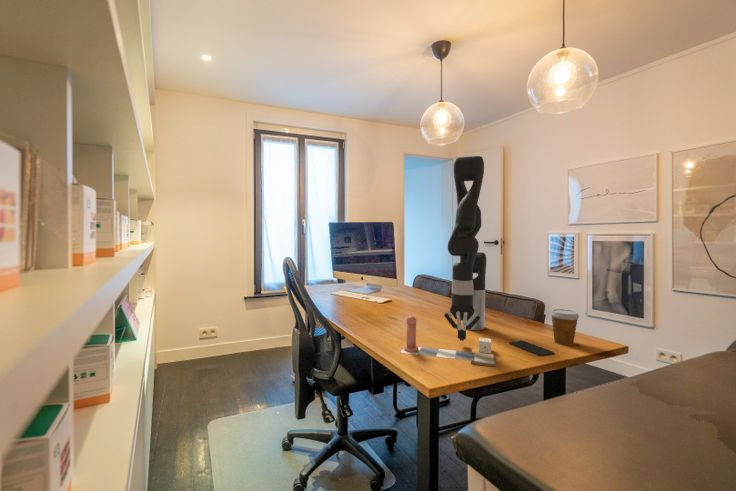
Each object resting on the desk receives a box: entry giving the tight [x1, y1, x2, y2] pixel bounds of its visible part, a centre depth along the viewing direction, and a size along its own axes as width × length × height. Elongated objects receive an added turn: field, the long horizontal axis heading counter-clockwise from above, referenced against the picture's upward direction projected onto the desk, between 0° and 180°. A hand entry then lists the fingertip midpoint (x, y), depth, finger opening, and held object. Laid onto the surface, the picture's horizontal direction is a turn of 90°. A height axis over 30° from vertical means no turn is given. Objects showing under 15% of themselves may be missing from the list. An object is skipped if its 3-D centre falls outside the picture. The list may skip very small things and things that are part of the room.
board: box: [400, 346, 497, 368], centre depth 117 cm, size 9×31×1 cm, turn 73°
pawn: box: [403, 315, 419, 352], centre depth 120 cm, size 5×5×12 cm
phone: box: [508, 340, 555, 357], centre depth 125 cm, size 7×1×15 cm
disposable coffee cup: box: [549, 308, 580, 346], centre depth 132 cm, size 10×10×12 cm
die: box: [478, 337, 492, 354], centre depth 122 cm, size 4×4×4 cm
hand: (461, 339), depth 125 cm, fingers closed
